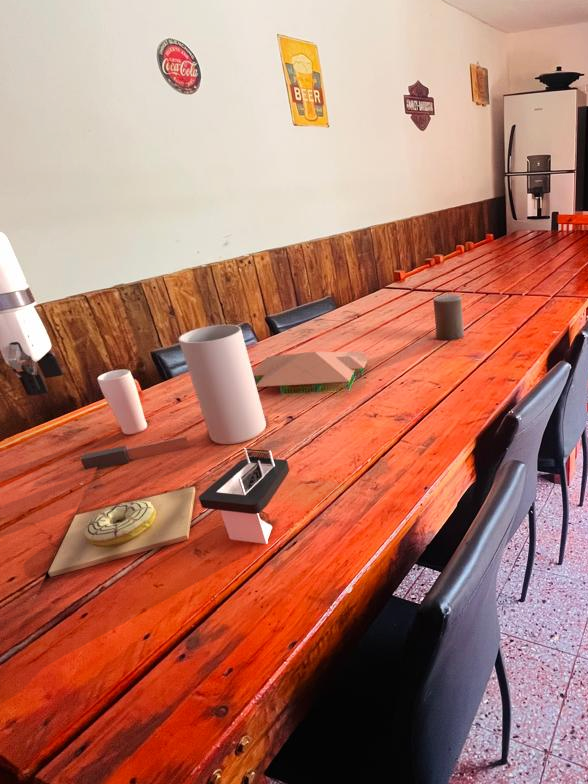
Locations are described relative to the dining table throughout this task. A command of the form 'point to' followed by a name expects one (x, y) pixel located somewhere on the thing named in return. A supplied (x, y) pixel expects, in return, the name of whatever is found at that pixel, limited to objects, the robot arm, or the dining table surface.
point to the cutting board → (164, 531)
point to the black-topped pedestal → (247, 495)
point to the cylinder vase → (224, 383)
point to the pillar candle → (448, 317)
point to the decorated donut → (120, 523)
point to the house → (310, 369)
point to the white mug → (123, 400)
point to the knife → (130, 453)
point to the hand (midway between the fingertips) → (46, 384)
